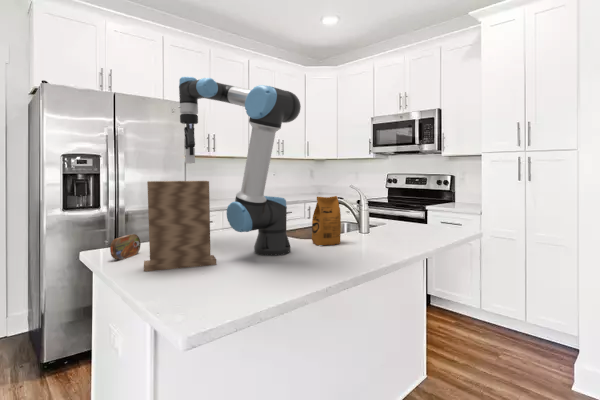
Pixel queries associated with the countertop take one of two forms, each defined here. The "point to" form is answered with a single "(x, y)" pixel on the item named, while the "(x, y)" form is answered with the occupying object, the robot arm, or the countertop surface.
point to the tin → (125, 247)
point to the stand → (178, 225)
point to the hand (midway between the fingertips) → (190, 163)
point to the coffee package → (326, 221)
